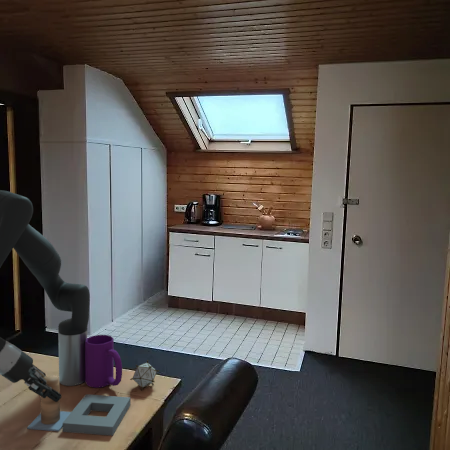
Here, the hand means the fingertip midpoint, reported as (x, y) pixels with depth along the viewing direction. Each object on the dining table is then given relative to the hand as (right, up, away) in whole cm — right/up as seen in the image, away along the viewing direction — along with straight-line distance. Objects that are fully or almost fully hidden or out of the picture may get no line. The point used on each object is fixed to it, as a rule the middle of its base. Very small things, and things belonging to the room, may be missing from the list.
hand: (57, 393), depth 125 cm
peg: (-2, -7, 0) cm, 7 cm away
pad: (-2, -8, 0) cm, 8 cm away
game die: (+21, -6, +22) cm, 31 cm away
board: (+11, -8, +2) cm, 14 cm away
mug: (+8, -6, +22) cm, 24 cm away
